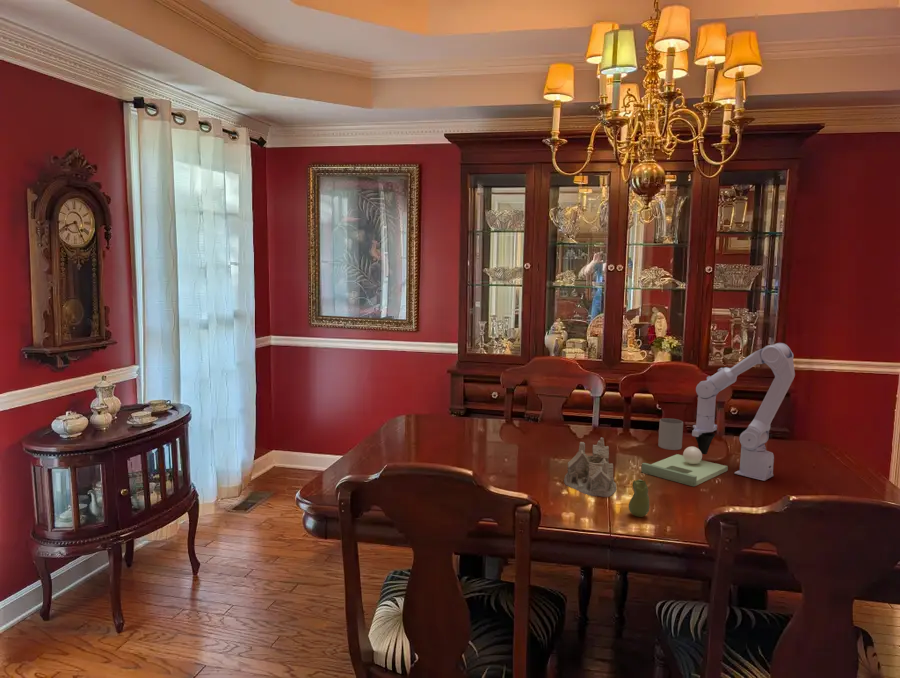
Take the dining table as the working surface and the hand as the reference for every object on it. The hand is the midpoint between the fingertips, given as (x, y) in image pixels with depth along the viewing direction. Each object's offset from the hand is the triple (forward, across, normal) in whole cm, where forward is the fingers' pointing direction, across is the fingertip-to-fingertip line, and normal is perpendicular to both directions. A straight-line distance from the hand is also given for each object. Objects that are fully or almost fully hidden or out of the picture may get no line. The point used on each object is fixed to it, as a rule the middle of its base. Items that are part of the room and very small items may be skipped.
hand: (703, 453), depth 216 cm
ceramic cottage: (+4, +50, -12) cm, 51 cm away
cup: (+4, -11, -18) cm, 21 cm away
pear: (+4, +59, +10) cm, 60 cm away
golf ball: (-1, +8, 0) cm, 8 cm away
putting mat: (+4, +13, 0) cm, 13 cm away
